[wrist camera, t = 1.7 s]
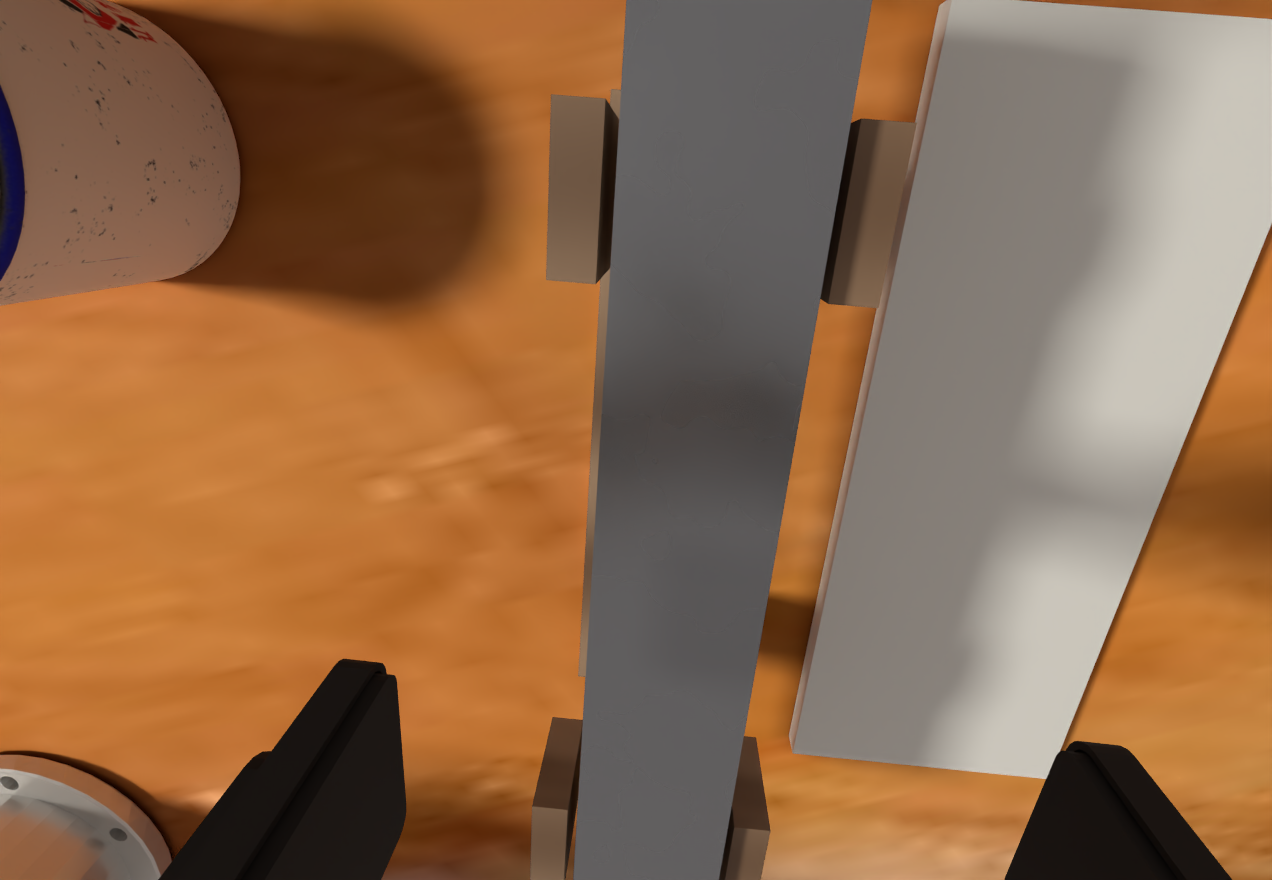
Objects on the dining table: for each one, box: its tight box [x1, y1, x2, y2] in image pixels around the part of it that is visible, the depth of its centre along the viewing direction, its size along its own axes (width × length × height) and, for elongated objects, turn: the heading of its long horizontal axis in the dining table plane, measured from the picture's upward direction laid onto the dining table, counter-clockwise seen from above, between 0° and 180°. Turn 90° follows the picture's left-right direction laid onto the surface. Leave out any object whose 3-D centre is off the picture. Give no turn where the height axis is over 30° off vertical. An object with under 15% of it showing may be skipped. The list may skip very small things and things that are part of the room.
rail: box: [573, 0, 872, 880], centre depth 15 cm, size 27×4×4 cm, turn 176°
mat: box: [789, 0, 1272, 779], centre depth 23 cm, size 28×11×1 cm, turn 176°
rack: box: [530, 89, 917, 880], centre depth 19 cm, size 22×6×11 cm, turn 176°
